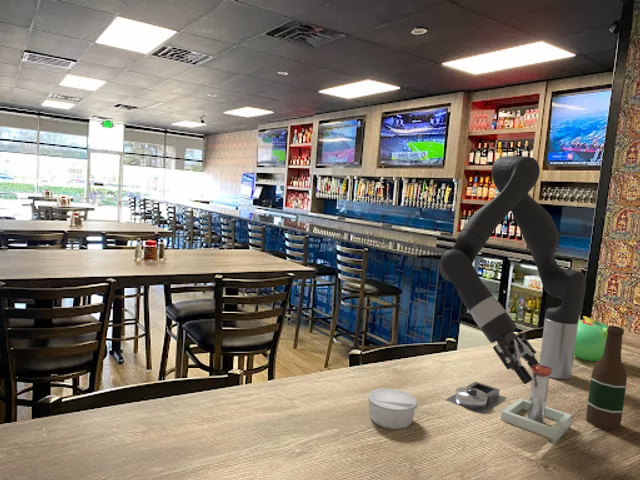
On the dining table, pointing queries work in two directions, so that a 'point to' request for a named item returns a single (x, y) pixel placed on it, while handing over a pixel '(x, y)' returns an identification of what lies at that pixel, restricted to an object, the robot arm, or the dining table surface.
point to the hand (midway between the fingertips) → (535, 377)
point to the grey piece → (477, 397)
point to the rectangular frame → (545, 430)
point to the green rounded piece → (590, 339)
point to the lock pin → (538, 392)
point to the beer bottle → (608, 384)
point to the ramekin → (391, 408)
